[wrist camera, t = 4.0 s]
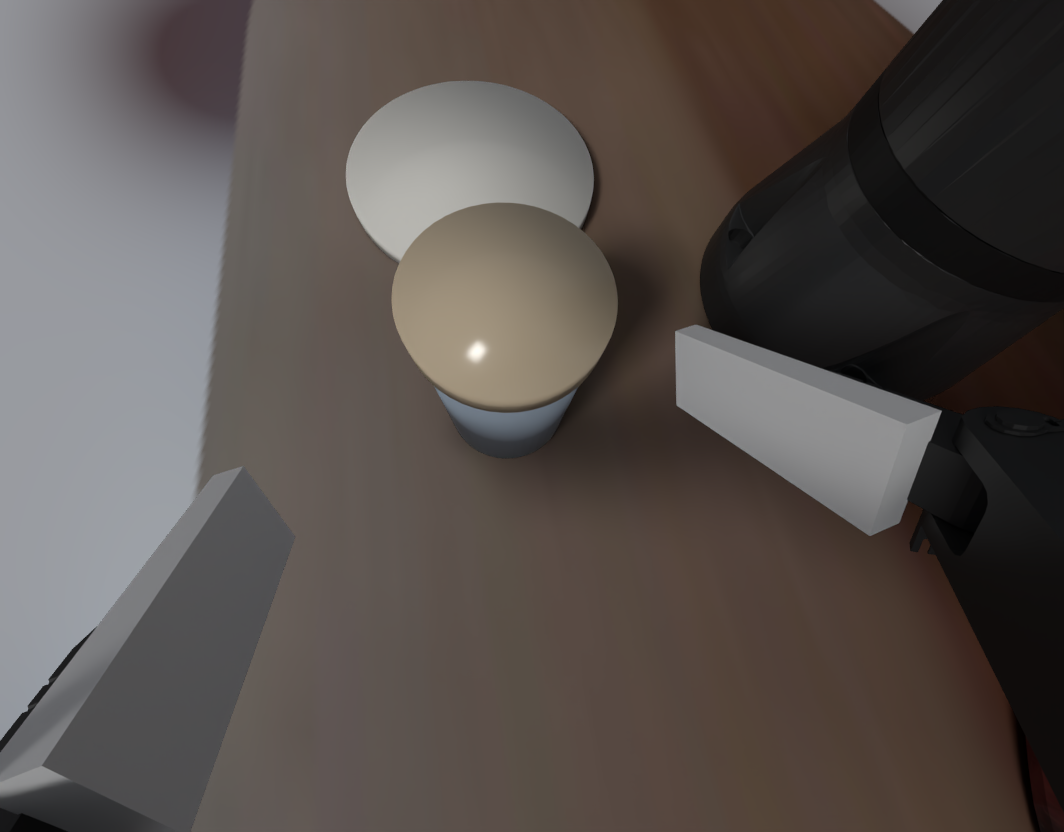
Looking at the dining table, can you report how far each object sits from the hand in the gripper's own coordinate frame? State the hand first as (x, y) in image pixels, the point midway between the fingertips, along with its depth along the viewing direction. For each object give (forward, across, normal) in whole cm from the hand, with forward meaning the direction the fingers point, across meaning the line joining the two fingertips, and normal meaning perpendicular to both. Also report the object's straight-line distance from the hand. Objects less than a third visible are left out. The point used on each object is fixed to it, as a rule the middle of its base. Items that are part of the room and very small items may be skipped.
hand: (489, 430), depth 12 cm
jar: (+8, +2, -3) cm, 9 cm away
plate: (+18, +4, +7) cm, 20 cm away
